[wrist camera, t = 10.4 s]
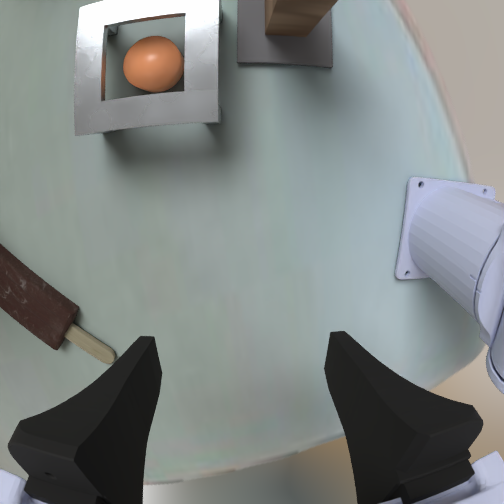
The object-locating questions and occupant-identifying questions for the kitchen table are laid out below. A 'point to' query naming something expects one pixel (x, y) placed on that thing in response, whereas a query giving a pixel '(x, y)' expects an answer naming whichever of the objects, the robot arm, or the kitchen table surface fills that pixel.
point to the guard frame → (153, 105)
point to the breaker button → (153, 64)
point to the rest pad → (280, 40)
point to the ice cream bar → (43, 308)
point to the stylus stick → (294, 16)
